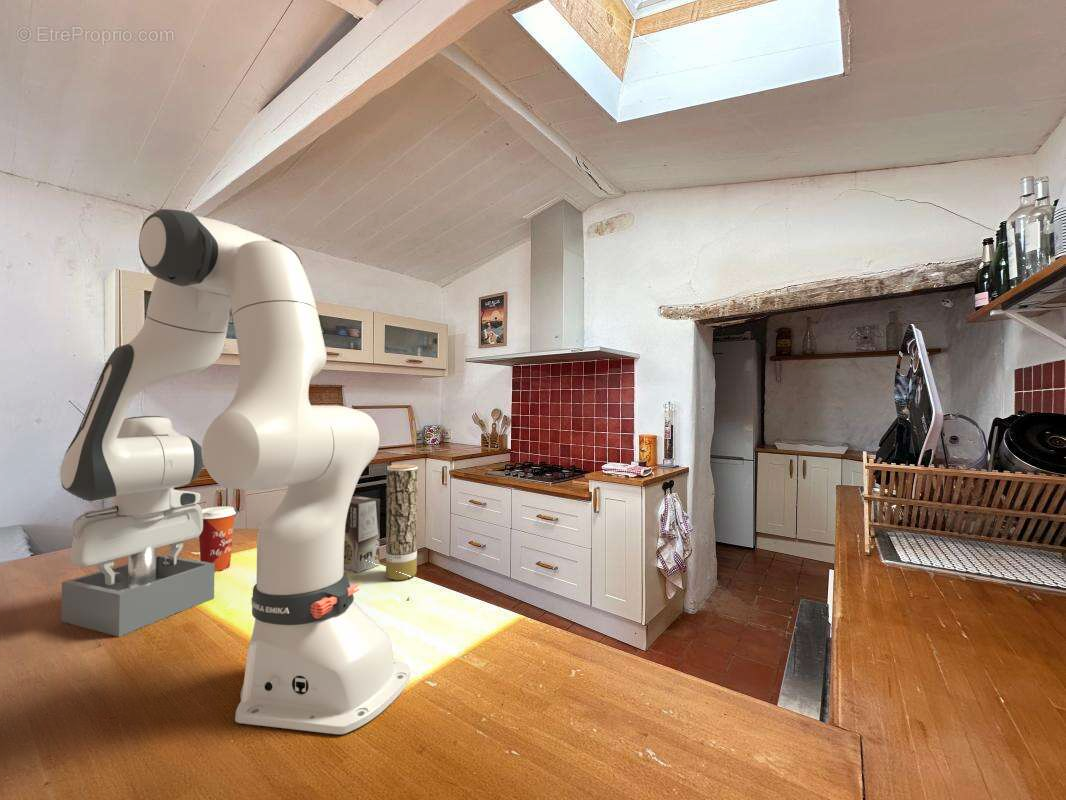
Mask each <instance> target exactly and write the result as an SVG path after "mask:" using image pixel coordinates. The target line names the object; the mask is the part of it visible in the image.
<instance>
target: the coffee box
mask: <svg viewBox="0 0 1066 800" xmlns="http://www.w3.org/2000/svg"><path fill="white" fill-rule="evenodd" d="M380 515H381V499H380V498H374V497H368V496H367V497H366V496H361V495H354V496H352V499H351V502H350V505H349V509H348V513H347V519H346V525H345V541H344V569H345V568H347V569H346V570H348V569H350V570H349V571H352V570H353V571H352V572H355V571H356V573H361V572H364V571H366V570H365V569H367V570H369V569H373V568H375V567H379V566H380V536H381V535H380V534H381V533H380V530H381V528H380V527H381V525H380V524H381V523H380V517H381V516H380ZM366 560H367V561H366ZM369 561H370V562H369ZM372 562H373V563H372ZM374 563H375V564H378V565H379V566H378V565H375V564H374ZM363 570H364V571H363ZM360 571H361V572H360Z"/></svg>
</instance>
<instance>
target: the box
mask: <svg viewBox="0 0 1066 800" xmlns="http://www.w3.org/2000/svg"><path fill="white" fill-rule="evenodd" d="M167 556H168V554H156V581H154V582H151V583H148V584H145V585H142V586H139V587H136V588H133V589H130V590H128V563H126V564H125V563H124V564H121V565H118V566H114V567H110V568H111V569H112V570H113V571H114V572H119V573H121V577H120V579H121V581H120V582H119V583H115V584H113V585H106V584H105V575H104V574H103V573H102V572H101V571H100V570H99V571H96V572H94V573H93V572H92V573H90V574H89V573H88V574H86V575H82V576H78V577H75V578H72V579H71V578H70V579H69V580H65V581H62V582H61V611H60V612H61V617H60V618H61V619H60V621H61V622H62V623H66V624H70V625H74V626H77V627H81V628H83V629H88V630H92V631H96V632H100V633H104V634H107V635H111V636H114V637H119V638H120V637H122V636H125V635H127V634H129V633H130V634H131V632H132V633H133V632H135V631H137V630H139V628H140V629H142V628H145V627H147V626H149V624H150V625H151V624H154V622H155V623H157V622H159V620H160V621H162V620H164V619H167V618H169V617H171V616H170V615H172V616H174V615H176V614H175V613H177V612H179V613H181V612H180V611H182V610H184V611H186V610H185V609H187V610H189V609H191V608H190V607H192V608H194V607H196V605H197V606H199V605H202V604H204V603H206V602H209V601H211V600H213V598H214V599H215V572H214V568H215V563H209V562H203V561H201V560H197V559H189V558H186V557H185V558H183V557H179V556H177V563H176V565H174V566H171V567H164V566H163V558H164V557H167ZM210 599H211V600H210ZM208 600H209V601H208ZM205 601H206V602H205ZM203 602H204V603H203ZM198 604H199V605H198ZM193 606H194V607H193ZM188 608H189V609H188ZM182 612H183V611H182ZM173 614H174V615H173ZM177 614H178V613H177ZM168 616H169V617H168ZM166 617H167V618H166ZM161 619H162V620H161ZM156 621H157V622H156ZM146 625H147V626H146ZM144 626H145V627H144ZM141 627H142V628H141ZM136 629H137V630H136ZM134 630H135V631H134ZM124 634H125V635H124Z"/></svg>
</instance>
